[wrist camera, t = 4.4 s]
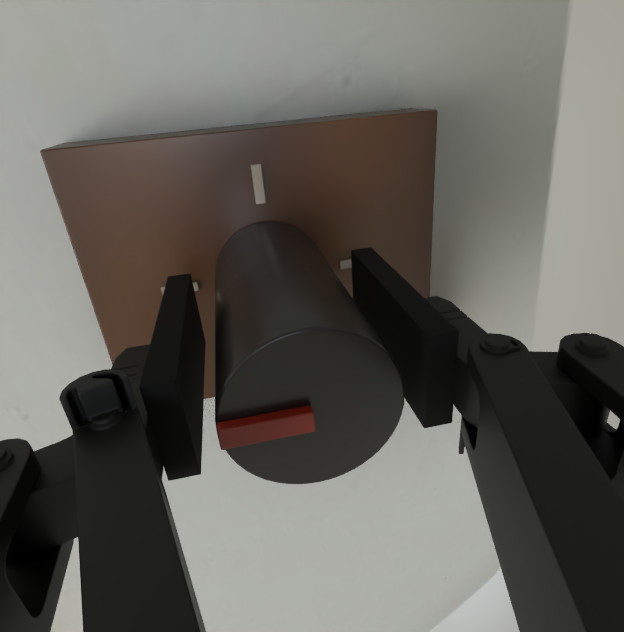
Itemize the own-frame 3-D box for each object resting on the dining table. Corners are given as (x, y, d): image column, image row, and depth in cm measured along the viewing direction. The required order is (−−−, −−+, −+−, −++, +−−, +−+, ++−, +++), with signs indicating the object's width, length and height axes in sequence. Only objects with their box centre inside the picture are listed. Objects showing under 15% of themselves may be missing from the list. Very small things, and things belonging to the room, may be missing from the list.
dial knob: (319, 214, 17) (412, 318, 9) (326, 314, 19) (408, 473, 11) (205, 228, 17) (196, 354, 9) (225, 330, 19) (233, 511, 11)
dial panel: (412, 108, 19) (440, 109, 16) (407, 334, 24) (428, 360, 21) (61, 143, 17) (37, 150, 14) (137, 381, 22) (128, 415, 19)
